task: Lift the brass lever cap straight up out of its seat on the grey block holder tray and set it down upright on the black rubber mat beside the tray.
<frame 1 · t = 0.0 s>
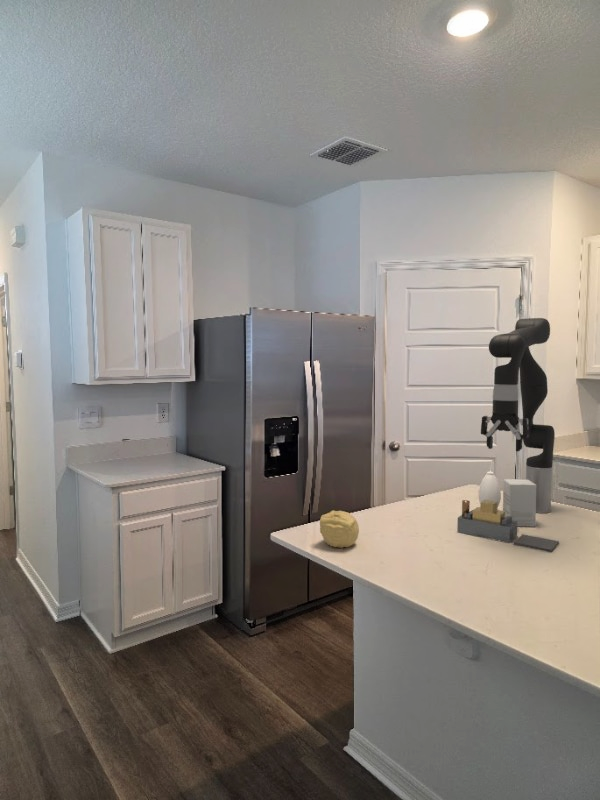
hand: (503, 449, 168), 29 cm above the countertop, tool pointing down, fingers open, 8 cm apart
grey block holder tray: (486, 534, 175), on the countertop
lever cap: (488, 519, 175), point 5 cm above the countertop, touching grey block holder tray
white ovoid vessel: (489, 512, 203), on the countertop
pale yellow lumpy ball: (339, 545, 165), on the countertop
rubber mat: (536, 544, 166), on the countertop
supplement box: (518, 523, 188), on the countertop
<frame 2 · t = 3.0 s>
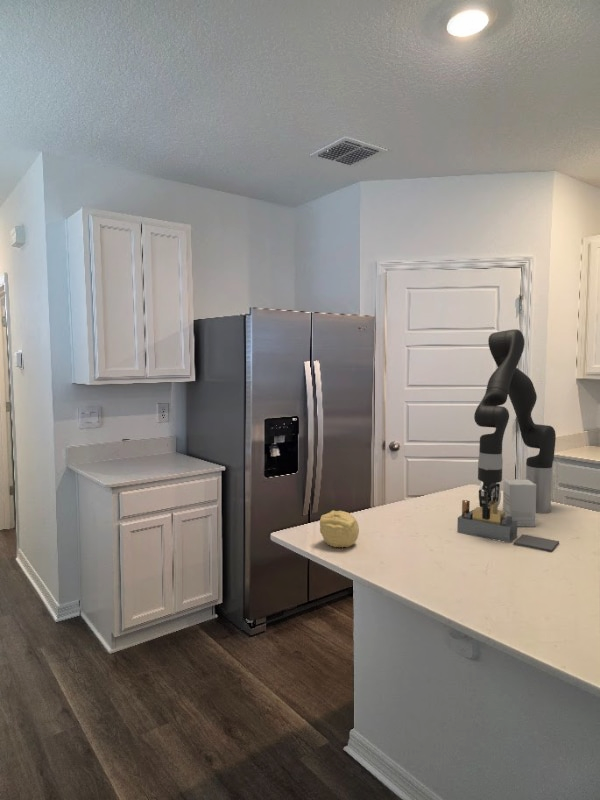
hand: (488, 517, 175), 6 cm above the countertop, tool pointing down, fingers closed on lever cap, 5 cm apart
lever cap: (488, 519, 175), point 5 cm above the countertop, touching gripper, grey block holder tray
everything else where it was.
when the fingers open (3 cm above the countertop, at t = 10.0 s): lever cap drops 1 cm, resting on rubber mat.
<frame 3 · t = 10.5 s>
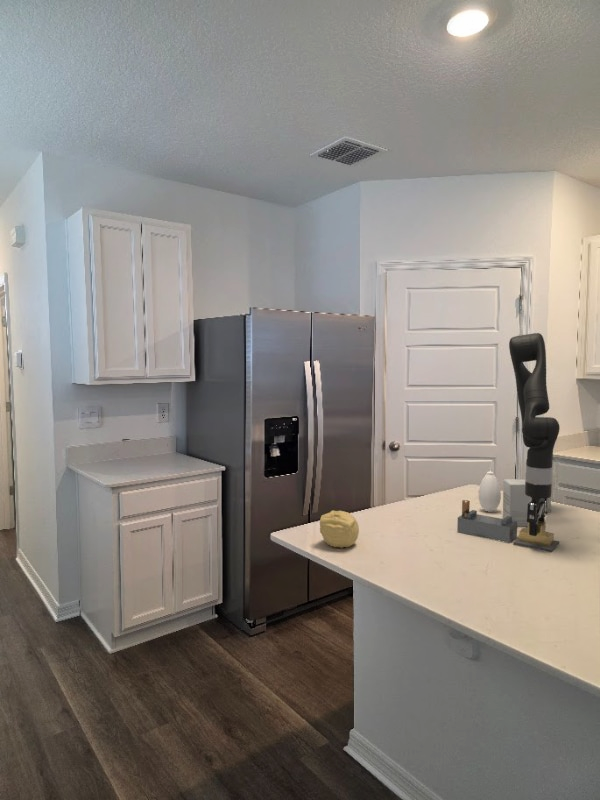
hand: (536, 531, 166), 4 cm above the countertop, tool pointing down, fingers open, 8 cm apart
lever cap: (536, 541, 166), point 1 cm above the countertop, touching rubber mat
everything else where it was.
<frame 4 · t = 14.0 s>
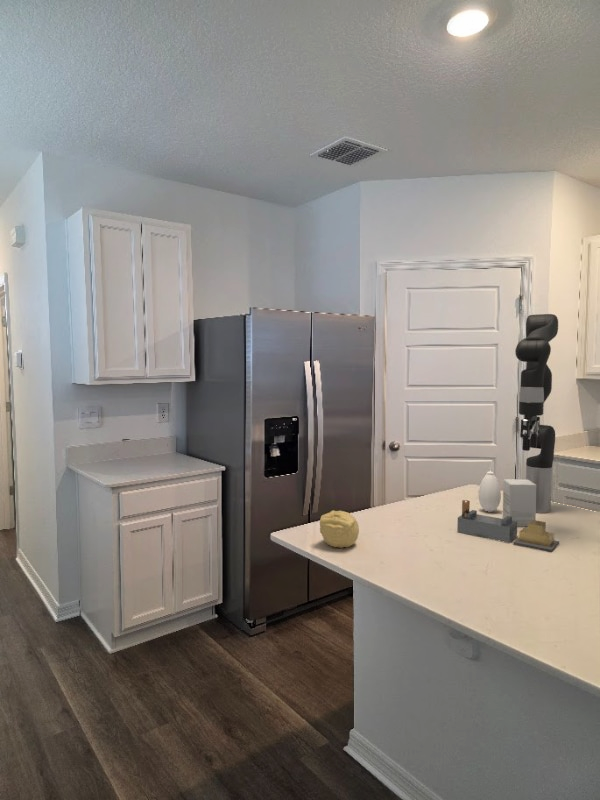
hand: (529, 448, 177), 28 cm above the countertop, tool pointing down, fingers open, 8 cm apart
nothing on the countertop moved.
at the end: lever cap 0.1 cm off-centre on the rubber mat, point 0.8 cm above the rubber mat's base; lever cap tilted 0°; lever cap touching rubber mat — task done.
